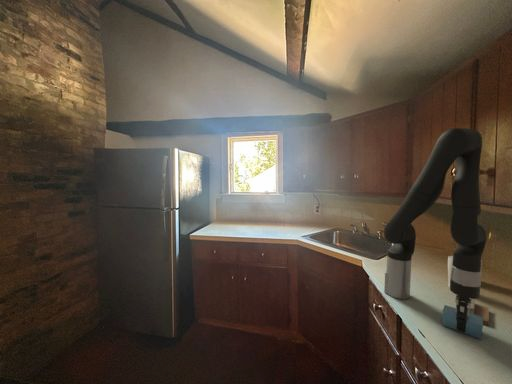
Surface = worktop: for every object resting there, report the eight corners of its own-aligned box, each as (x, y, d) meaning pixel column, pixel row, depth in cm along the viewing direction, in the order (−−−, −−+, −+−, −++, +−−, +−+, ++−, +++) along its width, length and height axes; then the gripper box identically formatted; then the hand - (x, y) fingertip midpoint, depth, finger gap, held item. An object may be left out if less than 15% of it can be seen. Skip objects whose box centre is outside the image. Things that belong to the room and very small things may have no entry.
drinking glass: (455, 285, 107) (457, 255, 105) (469, 292, 100) (472, 261, 99) (442, 285, 106) (444, 255, 105) (455, 293, 100) (457, 261, 98)
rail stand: (454, 314, 85) (455, 304, 85) (457, 301, 93) (458, 292, 93) (488, 325, 78) (489, 315, 78) (488, 311, 87) (489, 301, 86)
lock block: (441, 324, 79) (442, 311, 78) (443, 317, 83) (444, 304, 82) (481, 339, 72) (482, 325, 71) (481, 330, 75) (482, 317, 75)
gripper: (452, 270, 83) (449, 312, 85) (448, 284, 73) (444, 331, 75) (480, 277, 78) (477, 321, 79) (480, 292, 68) (475, 343, 69)
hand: (461, 326), depth 77 cm, fingers closed on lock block, 5 cm apart
